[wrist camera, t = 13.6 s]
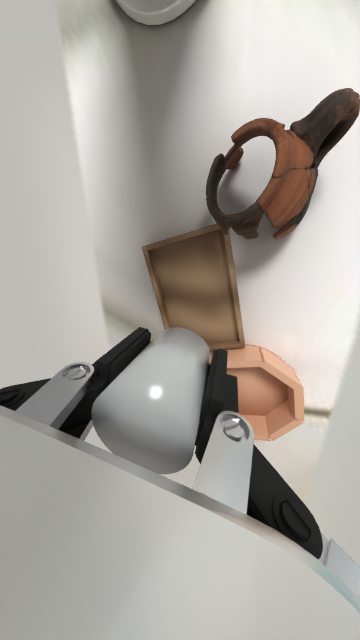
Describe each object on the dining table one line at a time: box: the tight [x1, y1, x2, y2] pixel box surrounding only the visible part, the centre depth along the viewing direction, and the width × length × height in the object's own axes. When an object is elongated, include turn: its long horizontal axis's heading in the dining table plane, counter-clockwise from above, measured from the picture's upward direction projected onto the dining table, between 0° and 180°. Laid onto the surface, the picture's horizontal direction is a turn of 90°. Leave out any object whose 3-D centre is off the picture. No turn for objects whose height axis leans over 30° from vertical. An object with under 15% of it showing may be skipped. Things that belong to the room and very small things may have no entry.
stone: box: [92, 327, 211, 474], centre depth 9 cm, size 4×4×6 cm
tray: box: [142, 224, 245, 350], centre depth 24 cm, size 16×11×2 cm
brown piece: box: [206, 88, 360, 239], centre depth 17 cm, size 12×10×8 cm
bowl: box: [211, 345, 304, 441], centre depth 27 cm, size 14×14×4 cm
